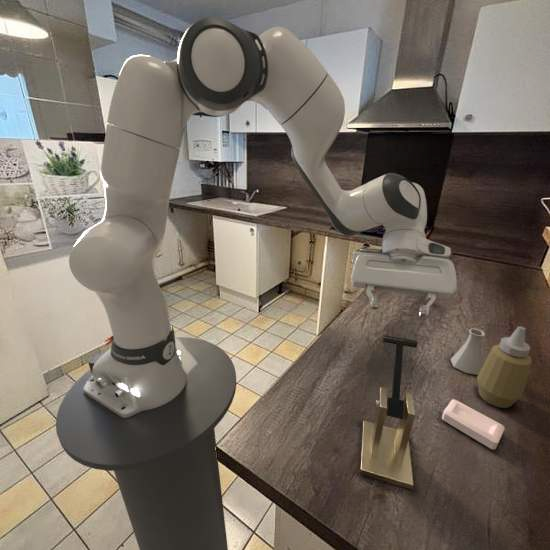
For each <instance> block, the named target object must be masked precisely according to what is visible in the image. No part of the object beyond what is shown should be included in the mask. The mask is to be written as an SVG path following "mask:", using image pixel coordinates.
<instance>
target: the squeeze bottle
mask: <svg viewBox="0 0 550 550" xmlns="http://www.w3.org/2000/svg"><path fill="white" fill-rule="evenodd" d="M530 351H531V346H530V345H529V344H528V343H527V342H526V327H524V326H520V325H519V326H517V328H515V330H514V331H513V332H512V334H510V336H504V337H502V338H501V339H500V342H499V344H494V345H493V346H492V347H491V349H490V351H489V353H488V355H487V357H486V359H485V360H484V362H483V366H482V368H481V370H480V372H479V374H478V375H476V376H477V377H476V381H477V382H476V383H477V390H478V394H479V396H480V397H481V399H482V400H484V401H485V402H486V403H488V404H489V405H491V406H494V407H496V408H500V409H507V408H510V407H512V405H514V404H515V403H517V402H518V401H519V400H520V399H522V398H523V396H524V392H525V390H526V389H525V388H526V384H527V380H528V378H529V377H528V376H529V373H530V369H531V366H532V361H533V359H532V358H531V356H530V355H529V353H530Z"/></svg>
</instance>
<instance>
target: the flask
mask: <svg viewBox="0 0 550 550" xmlns="http://www.w3.org/2000/svg"><path fill="white" fill-rule="evenodd" d="M468 333H469V335H468V337H467V339H466V341H465V342H464V343H463V345H462V346H461V347H460V349H458V350H457V351H456V353H454V354H453V355H452V357H450V359H449V360H450V362H451V364H452V367H453V368H455V369H457V370H459V371H461V372H463V373H465V374H469V375H476V376H478V374H479V372H480V370H481V368H482V366H483V364H484V361H483V354H482V340H483V338H484V337H485V336H486V333H485V332H484V330H481V329H478V328H474V327H471V328H470V329H469V330H468Z"/></svg>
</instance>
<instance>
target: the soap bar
mask: <svg viewBox="0 0 550 550" xmlns="http://www.w3.org/2000/svg"><path fill="white" fill-rule="evenodd" d="M441 419H442V421H443V422H445V423H447V424H449V426H452V427H453V428H455V429H457V430H459V431H460V432H462V433H463V434H465V435H467V436H469V437H470V438H472V439H473V440H475V441H477V442H478V443H481V444H482V445H484V446H485V447H487V448H489V449H490V450H496V449H497V448H498V445H499V443H500V440H501V438H502V437H503V434H504V432H505V429H506V428H505V426H504V425H503V424H501V423H500V422H498V421H496V420H494V419H492V418H490V417H489V416H487V415H485V414H483V413H481V412H479V411H478V410H475V409H474V408H471V407H470V406H468V405H466V404H464V403H462V402H461V401H459V400H457V399H454V398H453V399H451V400H450V401H449V403H448V404H447V405H446V407H445V408H444V409H443V411H442V415H441Z"/></svg>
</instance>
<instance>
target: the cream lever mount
mask: <svg viewBox="0 0 550 550" xmlns="http://www.w3.org/2000/svg"><path fill="white" fill-rule="evenodd" d="M387 393H388V392H387V387H383V386H380V387H379V392H378V397H377V399H375V402H374V408H375V413H374V418H373V422H371V421H367V420H363V421H362V434H361V451H360V467H359V468H360V469H359V470H360V471H359V474H360V475H362V476H365V477H368V478H372V479H375V480H378V481H381V482H385V483H388V484H391V485H395V486H398V487H401V488H405V489H408V490H413V489H414V479H413V478H414V477H413V467H412V458H411V448H410V436H411V432H412V428H413V424H414V421H415V418H416V415H417V411H416V410H417V409H416V407H415V405H414V404H415V403H414V397H413V393H410V392H405V394H404V398H403V400H404V409H403V419H398V425H397V428H394V427H391V426H387V425H385V422H386V416H387V415H386V411H387V399H388V394H387Z"/></svg>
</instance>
